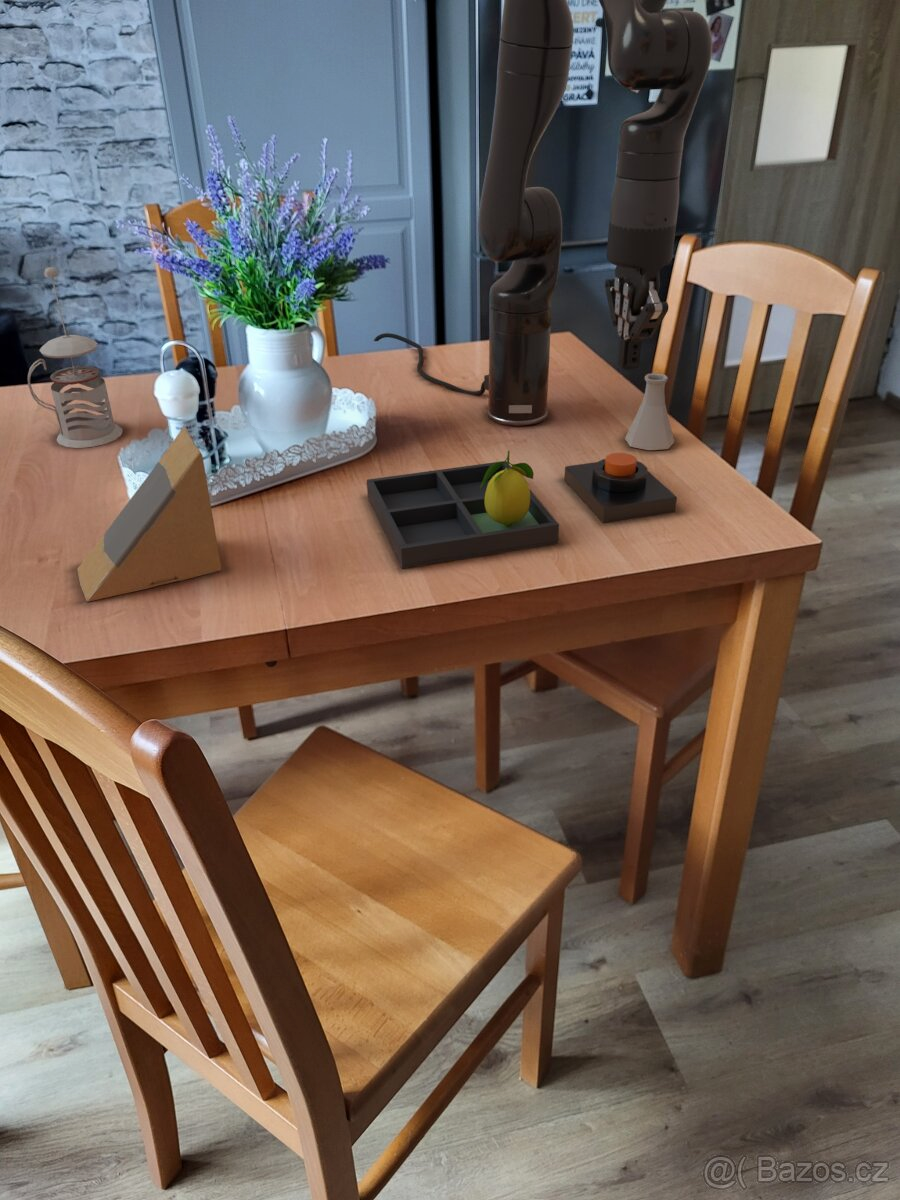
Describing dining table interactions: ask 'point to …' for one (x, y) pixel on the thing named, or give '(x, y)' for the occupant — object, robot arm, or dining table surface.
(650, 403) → the flask
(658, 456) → the dining table surface
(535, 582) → the dining table surface
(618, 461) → the button
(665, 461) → the dining table surface
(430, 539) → the tray
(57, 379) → the french press
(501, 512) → the lemon
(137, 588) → the sandwich container
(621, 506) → the control box
